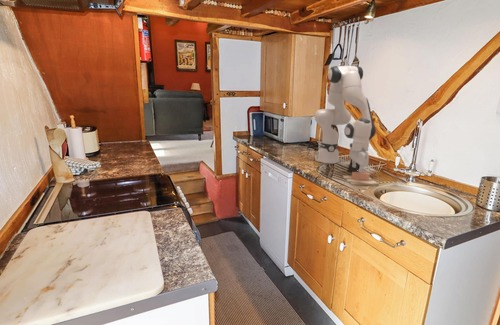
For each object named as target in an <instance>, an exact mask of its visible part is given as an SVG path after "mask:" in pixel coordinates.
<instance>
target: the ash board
mask: <svg viewBox="0 0 500 325" xmlns="http://www.w3.org/2000/svg"><path fill="white" fill-rule="evenodd" d="M351 177H352V174H351V175H348V174H342V179H344V180H345V182H347V183H348V184H349V185H350V186H363V187H364V186H365V187H367V186H368V187H379V183H378V182H377V181H375V180H374V179H372V178H371V177H370V176H369V181H363V180H353V179H352V178H351Z"/></svg>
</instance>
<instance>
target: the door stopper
mask: <svg viewBox="0 0 500 325" xmlns="http://www.w3.org/2000/svg"><path fill="white" fill-rule="evenodd" d="M352 165H353V164H352V159H351V158H350V162H349V165H348V167H347V172H350V173H352V172H359V171H357V170H358V169H359V168H360V165H359V164H358V163H356V168H353V167H352ZM362 172H364V171H363V170H362Z"/></svg>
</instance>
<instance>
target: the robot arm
mask: <svg viewBox="0 0 500 325" xmlns="http://www.w3.org/2000/svg"><path fill="white" fill-rule="evenodd" d="M363 77H364V70H363V68H362V67H361V66H358V65H355V66H354V65H334V66H331V67H330V68H329V69H328V72H327V79H328V81H329V82H330V86H329V90H328V95H327V102H328V103H329V104H330V105H331V106H334V108H321V109H318V110H316V112H315V114H314V120H315V122H316V123H317V124H318V125H319V127H320V128H321V131H322V141H321V143H320V148H319V149H318V150H316V151H315V154H316V155H314V161H315V162H318V163H319V162H320V163H323V164H332V165H333V164H337V163H340V162H341V160H340V159H339V155H340V152H339V150H338V146H339V143H338V141H339V132H338V131H337V130H336V129H334V128H332V125H336V126H338V125H339V126H340V125H341V126H342V125H345V127H344V130H343V131H344V135H345V137H346V138H348V139H352V140H353V141H352V142H351V143H349V147H350V148H349V154H348V155H349V156H348V157H349V159H350V160H351V159H352V164H353V165H352V167H353V168H356V163H358V164H359V165H360V168H359V169H358V171H359V172H363V171H362V170H363V169H364V168H365V167H368V166H369V161H370V154H369V153H368V151H369V146H370V140H372V139H373V138H374V137H375V136H376V133H377V127H376V126H375V125H376V124H375V123H374V120H373V119H374V118H373V116H372V110H371V107H370V103H369V99H368V98H367V97H366V96H365V95H364V93H363V88H362V79H363ZM345 102H346V103H347V104H348V105H349V104H350V105H352V106H354V107H356V108H357V109H358V110H360V111H359V112H360V113H361V118H358V119H356V120H355V121H353V122H351V120H352V119H351V118H352V114H351V112H350V111H349V110H348V109H347V108H346V106H345Z"/></svg>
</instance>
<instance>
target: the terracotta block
mask: <svg viewBox="0 0 500 325" xmlns="http://www.w3.org/2000/svg"><path fill="white" fill-rule="evenodd" d="M351 175H352V177H351V178H352V179H353V180H363V181H369V177H370V173H369V172H366V171H362V172H351Z"/></svg>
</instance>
